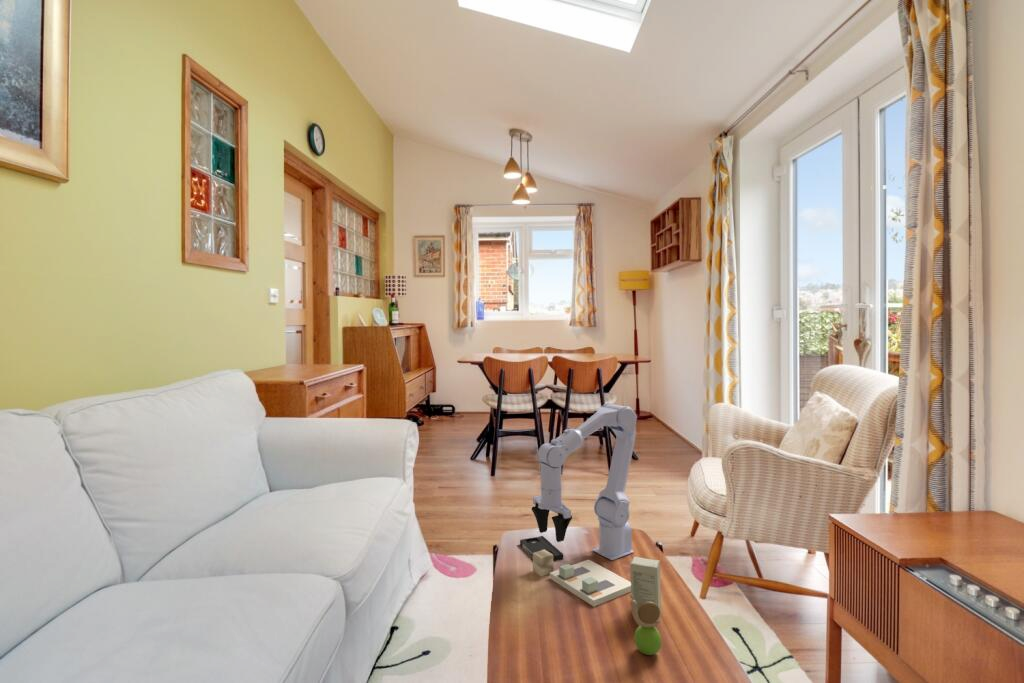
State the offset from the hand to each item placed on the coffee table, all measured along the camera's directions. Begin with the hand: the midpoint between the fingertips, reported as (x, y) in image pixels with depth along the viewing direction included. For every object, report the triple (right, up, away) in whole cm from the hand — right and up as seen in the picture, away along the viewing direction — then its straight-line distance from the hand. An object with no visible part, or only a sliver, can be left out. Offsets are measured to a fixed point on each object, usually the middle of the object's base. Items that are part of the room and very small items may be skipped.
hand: (551, 536), depth 139 cm
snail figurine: (+16, -9, -37) cm, 42 cm away
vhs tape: (-2, -10, +11) cm, 15 cm away
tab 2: (+8, -7, -15) cm, 19 cm away
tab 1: (+3, -7, -8) cm, 11 cm away
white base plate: (+10, -9, -9) cm, 16 cm away
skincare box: (+20, -9, -23) cm, 32 cm away
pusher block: (-3, -9, -2) cm, 10 cm away
